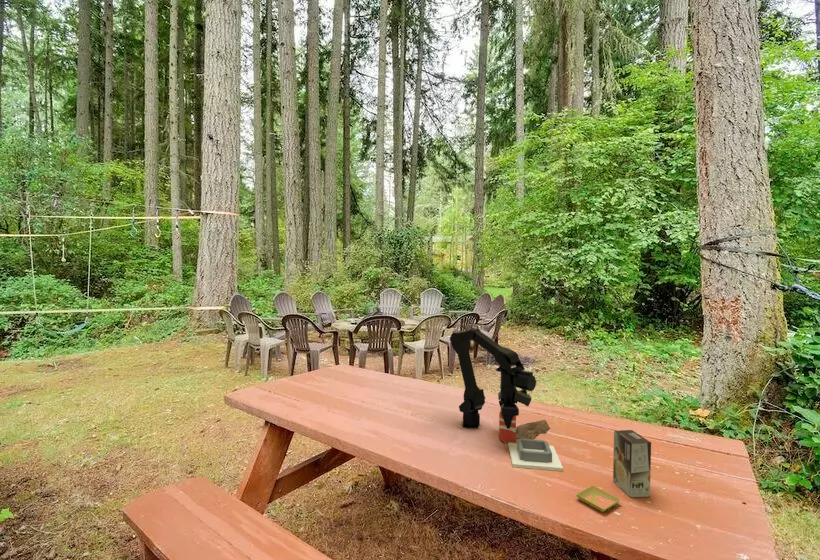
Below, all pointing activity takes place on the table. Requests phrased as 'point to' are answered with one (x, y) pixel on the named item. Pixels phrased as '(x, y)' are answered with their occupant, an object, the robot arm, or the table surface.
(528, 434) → the brown fossil slab
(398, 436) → the table surface
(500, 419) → the beverage can
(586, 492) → the olive green tray
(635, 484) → the coffee box
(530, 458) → the can holder
